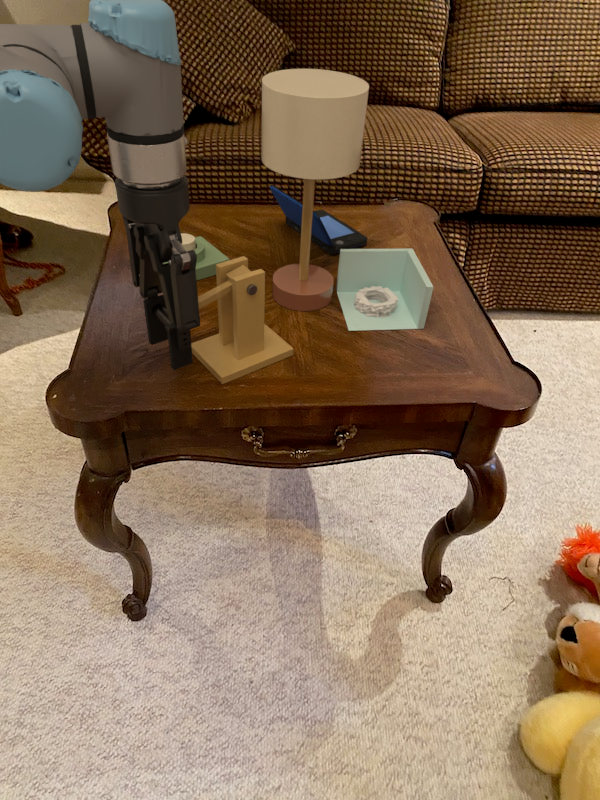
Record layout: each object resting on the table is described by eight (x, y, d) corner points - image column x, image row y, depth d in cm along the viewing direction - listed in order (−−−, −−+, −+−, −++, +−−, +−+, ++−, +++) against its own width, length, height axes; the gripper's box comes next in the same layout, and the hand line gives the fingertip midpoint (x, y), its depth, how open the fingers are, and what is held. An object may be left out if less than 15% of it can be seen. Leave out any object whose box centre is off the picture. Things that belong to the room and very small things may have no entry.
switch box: (167, 289, 97) (165, 267, 94) (140, 263, 102) (137, 242, 100) (230, 270, 102) (229, 249, 100) (201, 246, 108) (200, 226, 105)
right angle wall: (336, 289, 99) (340, 249, 94) (404, 288, 101) (412, 248, 96) (348, 330, 90) (354, 288, 85) (423, 328, 92) (433, 287, 87)
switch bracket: (222, 384, 80) (218, 297, 70) (189, 350, 85) (181, 265, 75) (293, 355, 85) (298, 270, 76) (258, 325, 90) (259, 242, 81)
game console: (370, 246, 112) (376, 198, 105) (313, 263, 106) (316, 214, 99) (321, 214, 121) (325, 169, 115) (266, 228, 115) (267, 181, 109)
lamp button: (178, 256, 98) (177, 246, 97) (167, 246, 100) (166, 236, 99) (200, 250, 100) (199, 240, 98) (188, 240, 102) (187, 231, 101)
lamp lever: (175, 340, 72) (170, 326, 71) (155, 319, 76) (149, 305, 74) (262, 291, 77) (259, 277, 75) (239, 273, 80) (236, 259, 78)
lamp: (293, 328, 90) (305, 103, 69) (243, 287, 98) (241, 75, 77) (361, 301, 97) (391, 89, 76) (310, 265, 105) (324, 64, 84)
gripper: (228, 200, 58) (232, 381, 73) (144, 142, 68) (163, 310, 84) (159, 216, 54) (178, 403, 70) (82, 153, 65) (113, 326, 80)
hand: (170, 352), depth 77 cm, fingers closed on lamp lever, 5 cm apart
